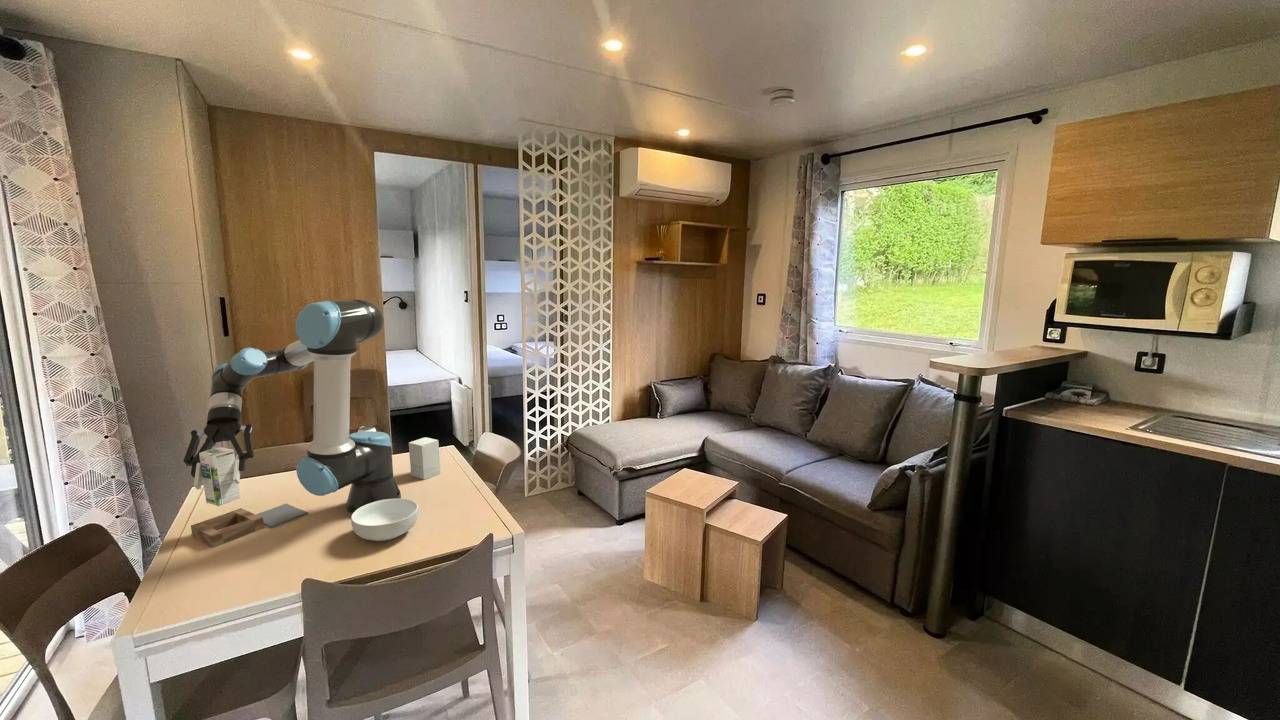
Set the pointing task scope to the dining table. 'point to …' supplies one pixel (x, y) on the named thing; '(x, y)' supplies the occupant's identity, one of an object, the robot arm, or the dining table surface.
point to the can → (366, 429)
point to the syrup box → (219, 476)
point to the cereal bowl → (384, 519)
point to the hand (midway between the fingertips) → (217, 484)
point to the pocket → (210, 527)
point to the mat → (281, 515)
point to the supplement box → (424, 458)
